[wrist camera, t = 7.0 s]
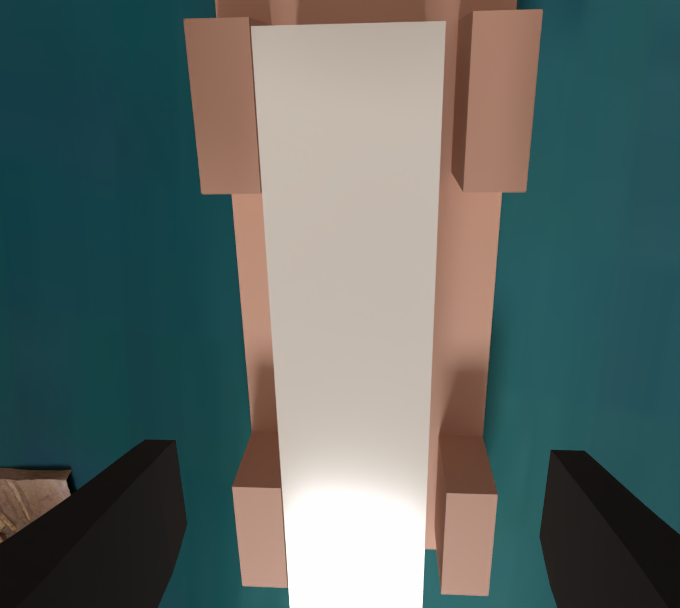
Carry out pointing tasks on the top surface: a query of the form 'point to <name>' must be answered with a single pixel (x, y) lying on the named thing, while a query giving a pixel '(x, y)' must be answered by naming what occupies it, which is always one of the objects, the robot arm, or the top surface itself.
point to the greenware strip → (352, 297)
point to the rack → (451, 259)
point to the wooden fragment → (28, 496)
